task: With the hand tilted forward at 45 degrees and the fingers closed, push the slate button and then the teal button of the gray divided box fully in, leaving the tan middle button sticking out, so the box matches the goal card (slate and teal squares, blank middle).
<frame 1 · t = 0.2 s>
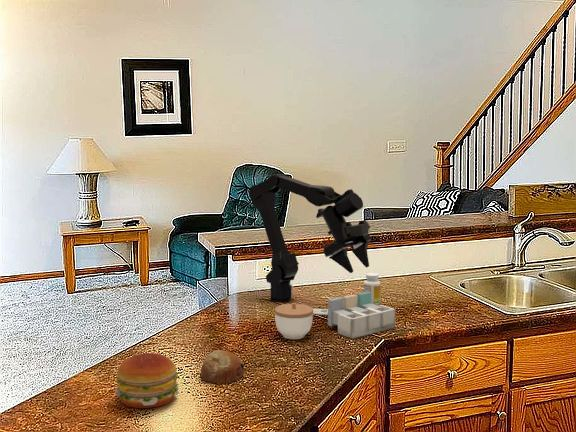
hand: (360, 269, 214), 15 cm above the counter, tool tilted 35°, fingers open, 9 cm apart
bread roll: (222, 376, 167), on the counter
goal card: (316, 312, 220), on the counter
button tan: (356, 310, 205), point 5 cm above the counter, slide at 0.0 cm
supplement bottle: (371, 304, 231), on the counter
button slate: (341, 313, 202), point 5 cm above the counter, slide at 0.0 cm
burger: (147, 400, 153), on the counter
lidded jar: (293, 336, 197), on the counter
gray divided box: (359, 327, 205), on the counter
button teal: (370, 307, 208), point 5 cm above the counter, slide at 0.0 cm
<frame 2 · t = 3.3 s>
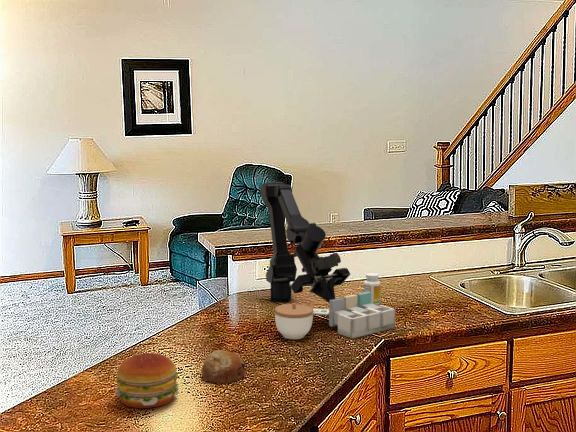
hand: (334, 304, 204), 7 cm above the counter, tool tilted 45°, fingers closed, pressing on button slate
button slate: (342, 314, 201), point 5 cm above the counter, slide at 0.5 cm, touching gripper
everything else where it was.
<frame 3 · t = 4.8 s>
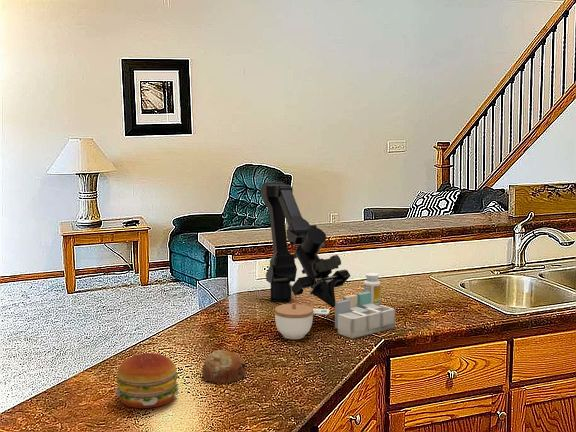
hand: (334, 306, 204), 6 cm above the counter, tool tilted 45°, fingers closed
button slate: (348, 316, 199), point 5 cm above the counter, slide at 3.0 cm
everything else where it was.
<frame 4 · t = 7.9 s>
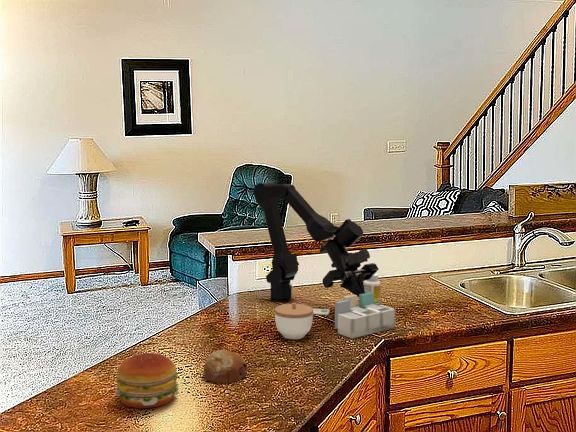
hand: (364, 298, 210), 7 cm above the counter, tool tilted 45°, fingers closed, pressing on button teal
button teal: (372, 308, 208), point 5 cm above the counter, slide at 1.0 cm, touching gripper
everything else where it was.
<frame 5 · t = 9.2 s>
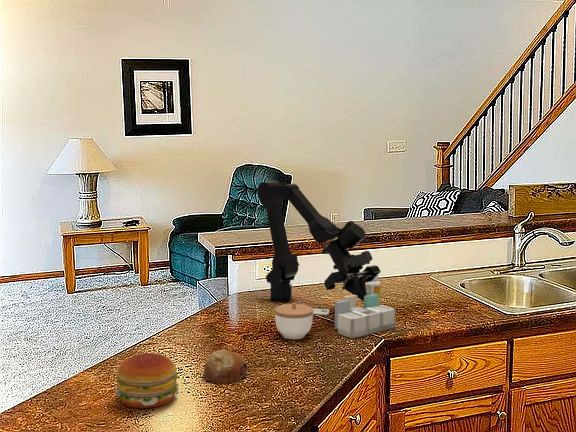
hand: (365, 300, 210), 6 cm above the counter, tool tilted 45°, fingers closed
button teal: (377, 309, 206), point 5 cm above the counter, slide at 3.0 cm
everything else where it was.
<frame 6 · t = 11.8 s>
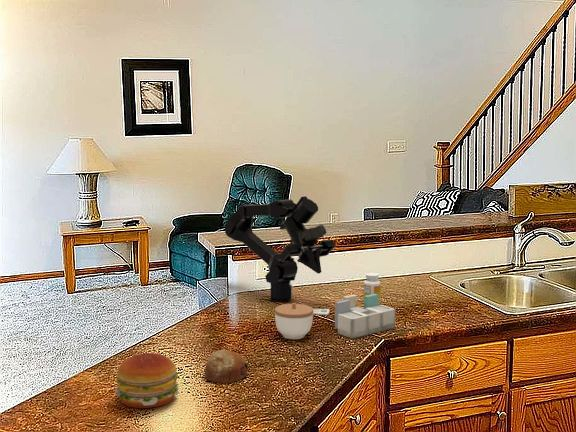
hand: (319, 272, 218), 13 cm above the counter, tool tilted 45°, fingers closed
nothing on the counter moved.
at the end: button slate slide at 3.0 cm; button teal slide at 3.0 cm; button tan slide at 0.0 cm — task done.
